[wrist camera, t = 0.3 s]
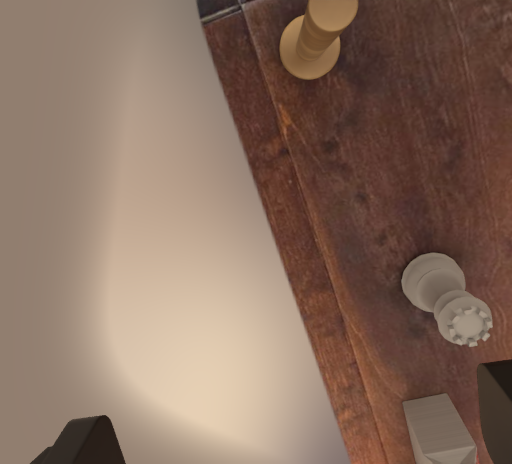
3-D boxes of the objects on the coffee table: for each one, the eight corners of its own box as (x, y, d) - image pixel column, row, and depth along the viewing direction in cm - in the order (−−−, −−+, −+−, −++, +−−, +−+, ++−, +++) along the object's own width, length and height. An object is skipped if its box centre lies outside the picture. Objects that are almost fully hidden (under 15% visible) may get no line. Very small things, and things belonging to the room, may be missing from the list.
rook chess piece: (387, 279, 35) (416, 329, 27) (431, 238, 34) (474, 279, 26) (427, 315, 36) (466, 374, 28) (471, 276, 35) (525, 326, 27)
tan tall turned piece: (274, 23, 30) (268, -45, 16) (334, 10, 30) (382, -71, 16) (284, 85, 32) (287, 73, 17) (342, 73, 31) (395, 51, 17)
